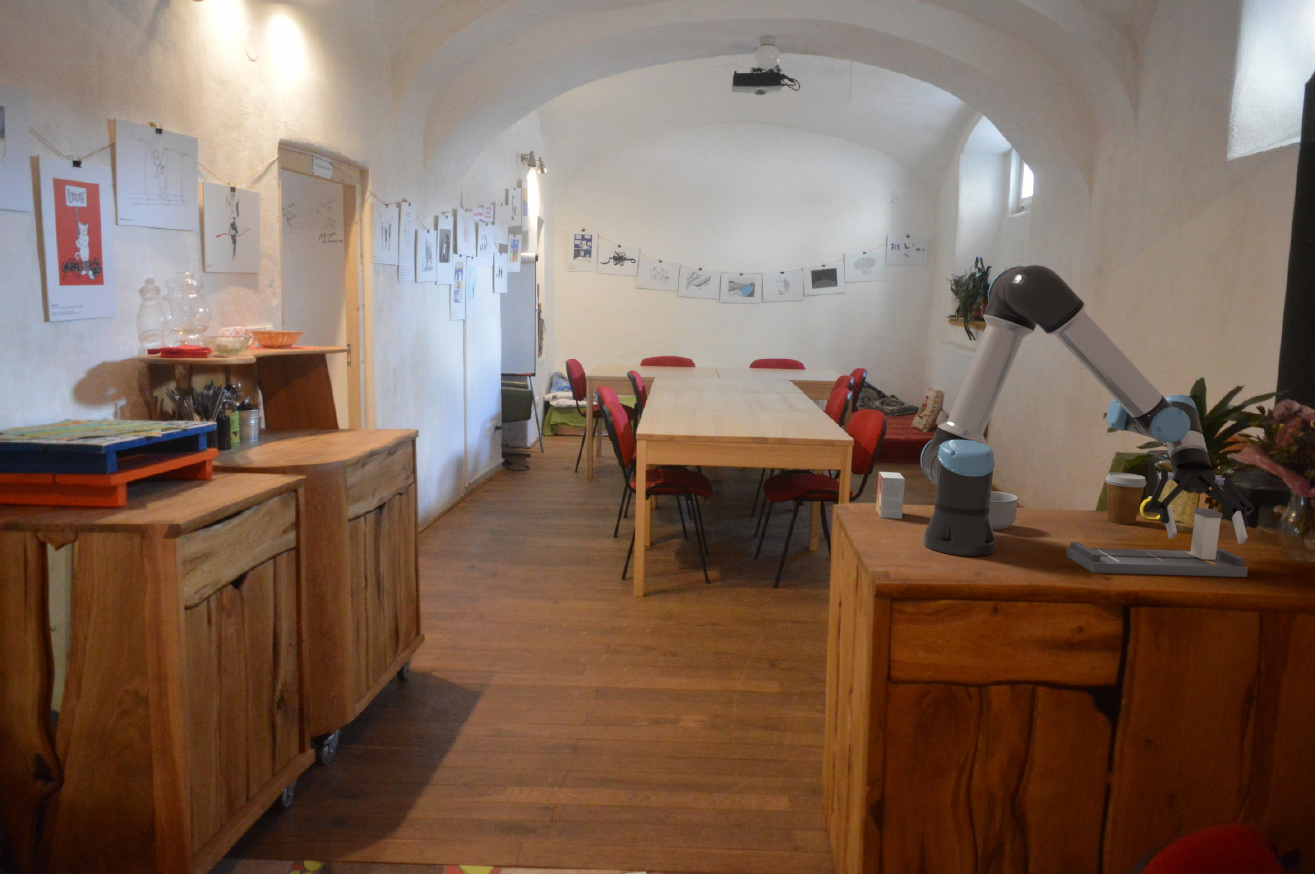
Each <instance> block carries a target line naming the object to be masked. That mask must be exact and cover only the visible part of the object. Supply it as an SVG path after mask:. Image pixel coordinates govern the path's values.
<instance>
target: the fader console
mask: <svg viewBox="0 0 1315 874" xmlns="http://www.w3.org/2000/svg"><path fill="white" fill-rule="evenodd" d="M1190 552H1191V550H1174V549H1173V550H1171V549H1170V550H1168V549H1135V548H1133V549H1132V548H1105V547H1104V548H1103V547H1102V548H1099V547H1098V548H1097V547H1095V548H1094V547H1088V546H1085V545H1084V544H1082V543H1081V542H1078V541H1071V542H1070V546H1069V547H1066V555H1065V556H1066V557H1067V558H1069V559H1070V560H1071V559H1072V560H1071V561H1073V562H1075V563H1076V564H1078V565H1080V566H1081V567H1083V568H1084V569H1086V570H1088V571H1089V572H1091V573H1095V574H1096V573H1097V574H1098V573H1099V574H1100V573H1101V574H1129V575H1130V574H1131V575H1132V574H1133V575H1134V574H1135V575H1161V576H1162V575H1163V576H1164V575H1165V576H1169V575H1170V576H1200V577H1201V576H1202V577H1203V576H1204V577H1205V576H1206V577H1237V578H1239V577H1241V578H1242V577H1243V578H1247V576H1248V570H1249V569H1248V568H1249V567H1248V566H1246V565H1245V561H1246V560H1245V558H1243V557H1242V556H1239V555H1236V554H1234V553H1232V552H1230V551H1228V550H1225V549H1223V548H1221V547H1218V546H1217V552H1216V560H1212V559H1200V558H1198V557H1196V556H1194V555H1191V554H1190Z"/></svg>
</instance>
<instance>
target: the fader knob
mask: <svg viewBox="0 0 1315 874" xmlns="http://www.w3.org/2000/svg"><path fill="white" fill-rule="evenodd" d="M1193 514H1194V520H1193V529H1192V536H1191V537H1192V538H1191V546H1190V551H1191V552H1190V554H1191V555H1194V556H1196V557H1198V558H1200V559H1212V560H1216V552H1217V547H1218V542H1219V535H1220V528H1221V527H1220V526H1221V520H1222V518H1223V516H1224V513H1222V512H1220V511H1217V510H1214V509H1212V508H1205V507H1204V508H1202V507H1199V508H1198V507H1197V508H1196V507H1194V508H1193Z"/></svg>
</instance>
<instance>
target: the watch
mask: <svg viewBox="0 0 1315 874" xmlns="http://www.w3.org/2000/svg"><path fill="white" fill-rule="evenodd" d="M1152 496H1153V495H1152ZM1152 496H1150V495H1149V496H1148V497H1147V498H1146V499H1144V500H1143V501H1141V503H1140V505H1139V513H1140V515H1141V516H1142V518H1144V519H1145V520H1147V521H1148V520H1152V521H1159V520H1160V515H1159V514H1158V515H1156V516H1155V517H1150V516H1149V517H1147V515H1146V514H1145V512H1144V509H1145V506H1146V505H1147V504H1148V503H1149V502H1150V500H1151V498H1152ZM1160 500H1161V497H1160V498H1159V500H1158V501H1160Z"/></svg>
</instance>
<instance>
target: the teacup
mask: <svg viewBox="0 0 1315 874" xmlns="http://www.w3.org/2000/svg"><path fill="white" fill-rule="evenodd" d="M1018 501H1019V497H1018V496H1017V495H1015V494H1012V493H1009V492H1001V491H995V490H994V491H993V490H991V500H990V510H989V518H990V522H991V526H992V530H993V531H994V530H1005V529H1007V528H1009V526H1011V525H1013V524H1014V523H1015V521H1016V519H1017V518H1016V517H1017V511H1018Z"/></svg>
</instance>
